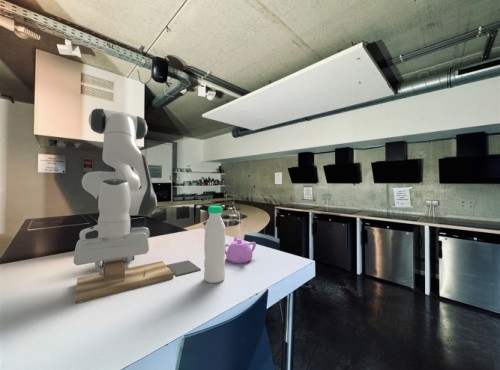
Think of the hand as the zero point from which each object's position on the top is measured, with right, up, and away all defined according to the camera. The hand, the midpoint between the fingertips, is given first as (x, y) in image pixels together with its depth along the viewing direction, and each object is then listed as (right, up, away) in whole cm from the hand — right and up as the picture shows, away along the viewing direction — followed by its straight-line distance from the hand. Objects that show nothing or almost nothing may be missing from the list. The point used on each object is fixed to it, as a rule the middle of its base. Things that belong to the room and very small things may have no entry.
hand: (113, 272), depth 68 cm
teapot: (+39, -5, +24) cm, 46 cm away
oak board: (+3, -4, +2) cm, 5 cm away
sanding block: (0, -2, 0) cm, 2 cm away
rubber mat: (+18, -4, +14) cm, 23 cm away
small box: (-10, -4, +19) cm, 22 cm away
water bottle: (+32, -4, +4) cm, 32 cm away
